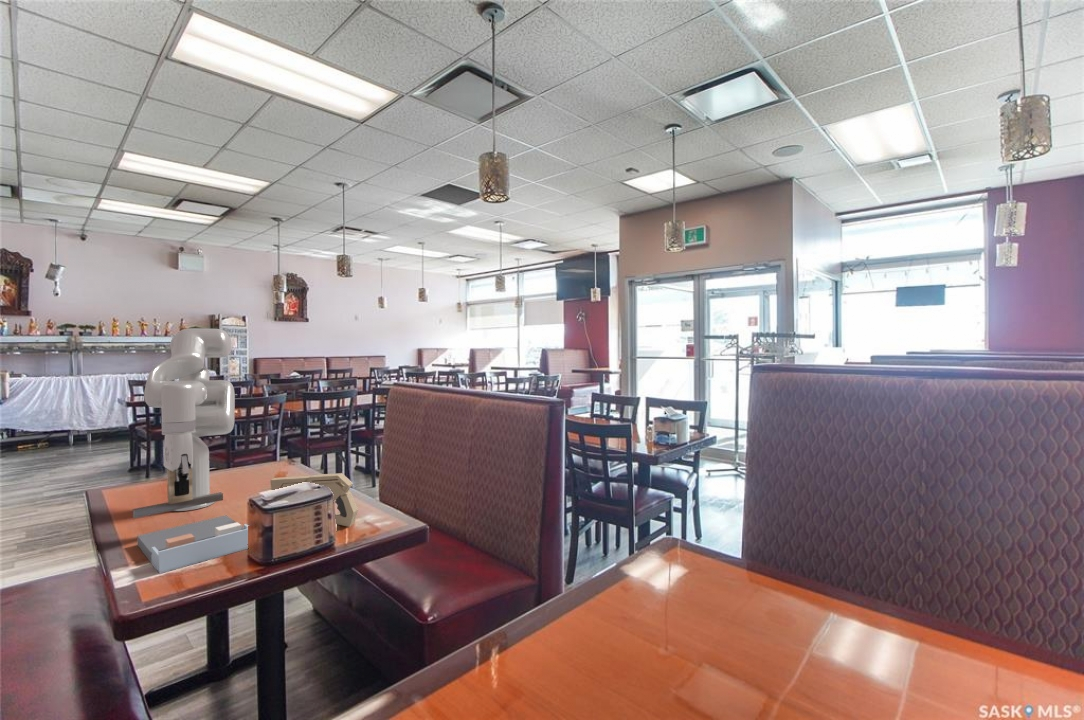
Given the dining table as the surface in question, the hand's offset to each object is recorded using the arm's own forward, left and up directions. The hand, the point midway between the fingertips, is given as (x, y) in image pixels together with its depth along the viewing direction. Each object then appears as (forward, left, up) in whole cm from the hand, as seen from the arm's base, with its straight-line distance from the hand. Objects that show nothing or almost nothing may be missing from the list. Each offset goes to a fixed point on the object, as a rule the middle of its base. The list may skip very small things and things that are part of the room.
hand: (180, 493), depth 134 cm
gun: (+22, +27, -11) cm, 36 cm away
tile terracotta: (+21, -5, -8) cm, 23 cm away
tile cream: (+21, +5, -8) cm, 23 cm away
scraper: (0, 0, -4) cm, 4 cm away
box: (+23, 0, -11) cm, 25 cm away
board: (+11, 0, -11) cm, 15 cm away
